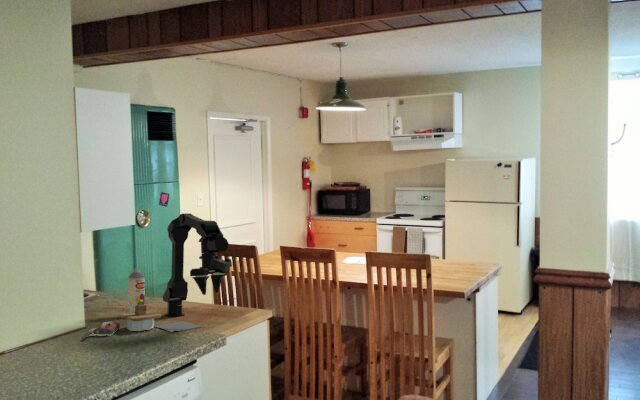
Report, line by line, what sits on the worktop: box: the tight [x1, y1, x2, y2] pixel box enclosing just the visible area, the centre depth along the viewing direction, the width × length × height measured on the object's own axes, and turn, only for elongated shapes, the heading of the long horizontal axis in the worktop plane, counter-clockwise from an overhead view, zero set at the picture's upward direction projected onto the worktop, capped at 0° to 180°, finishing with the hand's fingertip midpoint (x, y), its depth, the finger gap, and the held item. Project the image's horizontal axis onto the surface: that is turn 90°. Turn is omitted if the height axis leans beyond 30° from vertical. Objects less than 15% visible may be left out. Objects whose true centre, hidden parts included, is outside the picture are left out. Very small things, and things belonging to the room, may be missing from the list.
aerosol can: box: [127, 268, 146, 313], centre depth 240 cm, size 7×7×20 cm
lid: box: [119, 304, 162, 322], centre depth 217 cm, size 11×11×4 cm
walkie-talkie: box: [81, 321, 121, 340], centre depth 207 cm, size 9×4×20 cm
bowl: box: [126, 318, 155, 330], centre depth 217 cm, size 10×10×4 cm
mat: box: [154, 320, 203, 332], centre depth 221 cm, size 13×13×1 cm
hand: (210, 293), depth 219 cm, fingers open, 9 cm apart
